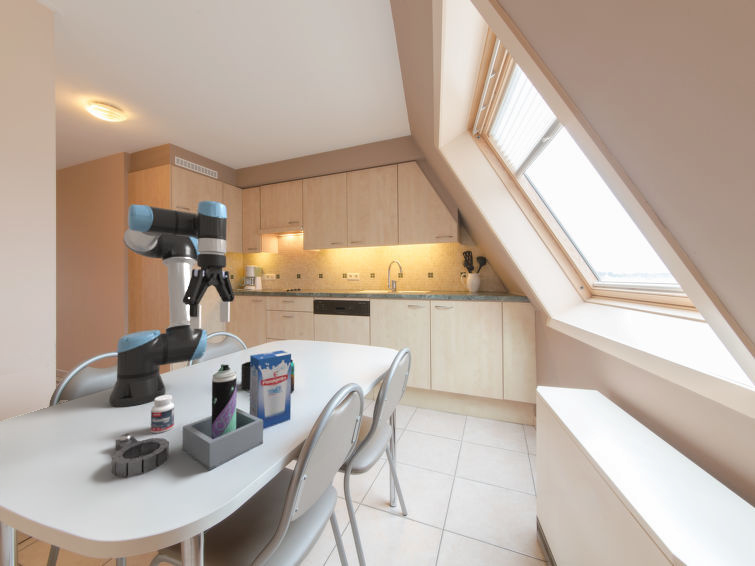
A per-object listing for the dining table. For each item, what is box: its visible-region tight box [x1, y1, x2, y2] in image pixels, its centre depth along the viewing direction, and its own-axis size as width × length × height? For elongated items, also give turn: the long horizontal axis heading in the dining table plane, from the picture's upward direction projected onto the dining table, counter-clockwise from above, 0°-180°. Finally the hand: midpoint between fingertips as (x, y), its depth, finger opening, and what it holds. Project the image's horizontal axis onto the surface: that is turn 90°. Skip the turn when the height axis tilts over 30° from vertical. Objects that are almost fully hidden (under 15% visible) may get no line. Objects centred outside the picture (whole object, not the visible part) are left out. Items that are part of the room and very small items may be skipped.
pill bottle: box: [150, 394, 175, 434], centre depth 81 cm, size 5×5×9 cm
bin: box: [182, 407, 264, 471], centre depth 72 cm, size 13×13×6 cm
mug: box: [240, 361, 250, 391], centre depth 113 cm, size 9×12×9 cm
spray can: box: [211, 363, 238, 439], centre depth 72 cm, size 6×6×20 cm
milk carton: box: [249, 349, 292, 430], centre depth 86 cm, size 10×6×20 cm, turn 135°
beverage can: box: [291, 359, 295, 394], centre depth 108 cm, size 7×7×12 cm
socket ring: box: [111, 433, 170, 479], centre depth 68 cm, size 17×10×3 cm, turn 56°
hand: (211, 325), depth 86 cm, fingers open, 13 cm apart
